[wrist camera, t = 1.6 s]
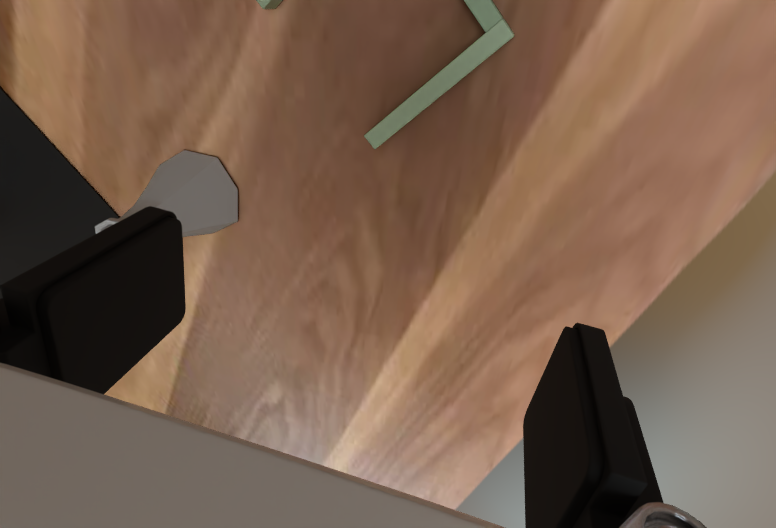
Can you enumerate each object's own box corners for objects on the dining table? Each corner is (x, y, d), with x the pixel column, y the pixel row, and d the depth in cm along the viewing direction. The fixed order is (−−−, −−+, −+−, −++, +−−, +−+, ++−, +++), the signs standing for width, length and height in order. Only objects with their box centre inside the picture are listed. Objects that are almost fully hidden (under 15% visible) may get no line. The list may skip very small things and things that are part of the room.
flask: (149, 153, 40) (48, 194, 31) (225, 144, 38) (140, 184, 29) (179, 234, 43) (96, 291, 34) (251, 229, 41) (182, 288, 32)
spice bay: (262, -7, 32) (250, -7, 30) (388, -156, 27) (381, -166, 25) (380, 143, 35) (374, 149, 33) (514, 34, 30) (514, 36, 28)
